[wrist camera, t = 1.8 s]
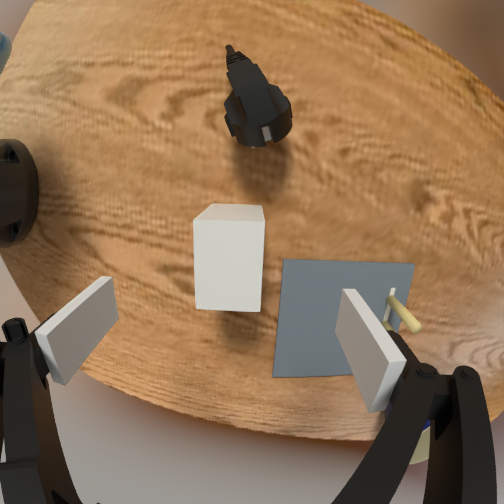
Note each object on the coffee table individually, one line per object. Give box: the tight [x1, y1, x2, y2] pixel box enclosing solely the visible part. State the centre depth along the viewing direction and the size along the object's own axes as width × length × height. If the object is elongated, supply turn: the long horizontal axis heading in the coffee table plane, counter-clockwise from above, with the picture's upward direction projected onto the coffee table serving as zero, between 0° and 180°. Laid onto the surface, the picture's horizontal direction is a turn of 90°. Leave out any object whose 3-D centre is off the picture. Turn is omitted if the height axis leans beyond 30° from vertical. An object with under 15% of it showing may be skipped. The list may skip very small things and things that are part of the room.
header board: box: [272, 259, 422, 377], centre depth 29 cm, size 16×16×7 cm
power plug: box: [224, 45, 293, 149], centre depth 23 cm, size 6×8×12 cm
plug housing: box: [193, 204, 265, 312], centre depth 25 cm, size 5×7×9 cm
